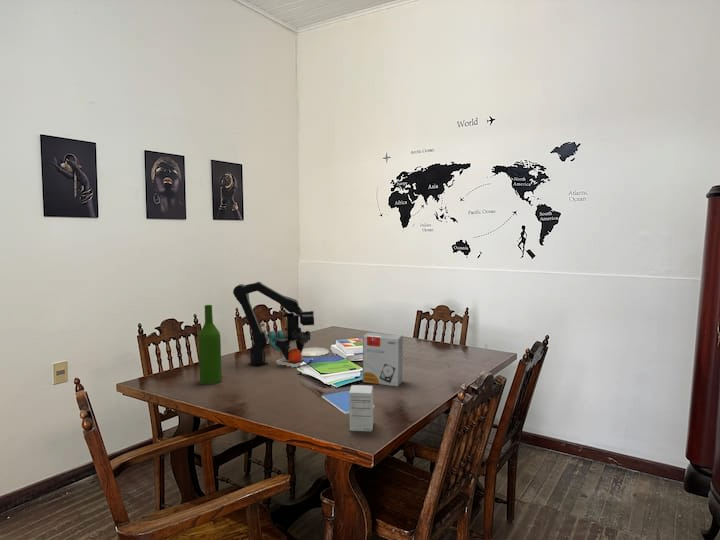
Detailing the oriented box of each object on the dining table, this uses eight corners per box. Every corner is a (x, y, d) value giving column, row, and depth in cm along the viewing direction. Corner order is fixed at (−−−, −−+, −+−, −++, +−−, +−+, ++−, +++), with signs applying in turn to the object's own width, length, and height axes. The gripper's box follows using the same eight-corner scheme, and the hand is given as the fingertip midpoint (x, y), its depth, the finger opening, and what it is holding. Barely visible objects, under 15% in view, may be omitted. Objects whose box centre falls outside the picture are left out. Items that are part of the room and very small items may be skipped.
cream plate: (314, 359, 236) (314, 357, 236) (291, 354, 245) (291, 352, 245) (335, 352, 249) (335, 350, 249) (311, 347, 258) (311, 346, 258)
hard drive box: (362, 382, 199) (361, 335, 197) (368, 377, 206) (367, 332, 204) (398, 386, 193) (398, 338, 192) (403, 381, 201) (403, 334, 199)
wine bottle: (212, 376, 209) (210, 303, 206) (226, 380, 204) (223, 304, 201) (195, 382, 202) (192, 305, 199) (208, 385, 197) (206, 307, 194)
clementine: (286, 365, 225) (285, 350, 224) (284, 361, 232) (284, 347, 231) (302, 364, 227) (302, 349, 226) (300, 360, 234) (300, 346, 233)
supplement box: (351, 421, 159) (351, 384, 158) (373, 422, 158) (373, 385, 157) (349, 431, 151) (348, 392, 150) (372, 431, 151) (372, 392, 150)
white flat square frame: (294, 367, 221) (294, 364, 221) (276, 363, 228) (276, 360, 228) (310, 362, 230) (310, 359, 230) (292, 358, 237) (292, 355, 237)
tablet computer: (375, 408, 171) (375, 405, 171) (344, 415, 165) (344, 412, 165) (349, 393, 188) (349, 389, 188) (320, 398, 182) (320, 395, 182)
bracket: (269, 344, 268) (269, 330, 268) (281, 342, 271) (280, 329, 271) (277, 351, 252) (277, 336, 251) (290, 350, 255) (289, 335, 254)
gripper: (291, 331, 216) (292, 365, 217) (318, 324, 231) (318, 356, 232) (273, 328, 222) (274, 361, 223) (301, 321, 237) (301, 352, 238)
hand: (293, 357), depth 229 cm, fingers open, 8 cm apart
